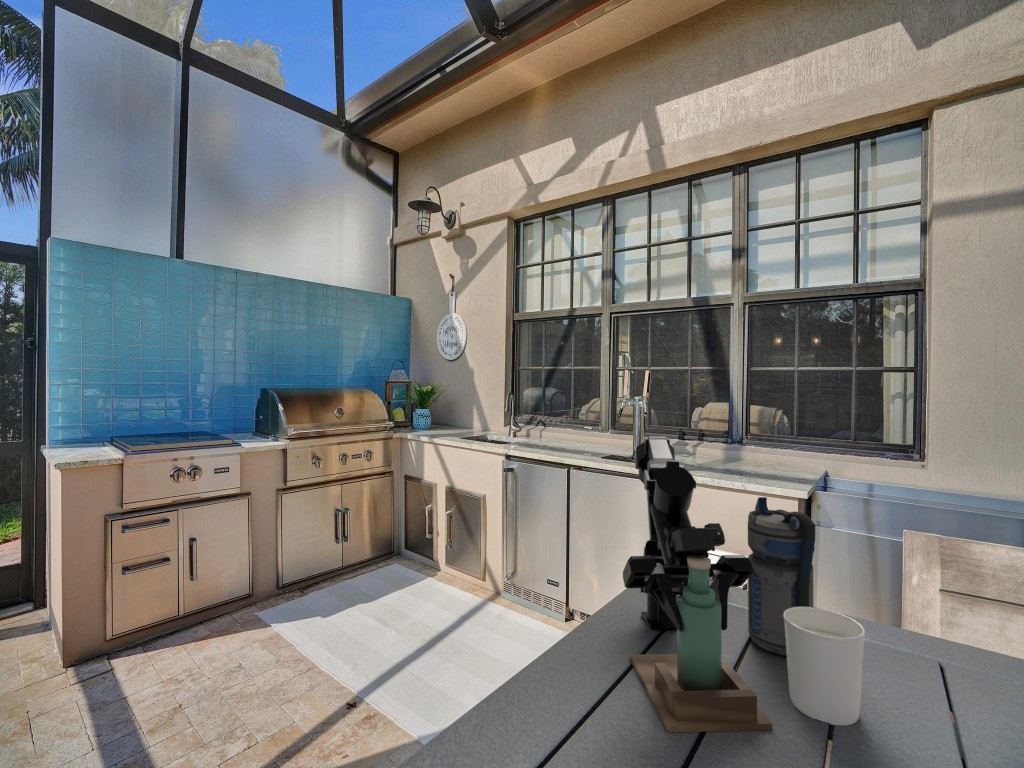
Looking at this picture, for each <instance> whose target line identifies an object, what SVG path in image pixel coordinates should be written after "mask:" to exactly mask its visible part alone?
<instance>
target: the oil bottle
mask: <svg viewBox="0 0 1024 768" xmlns="http://www.w3.org/2000/svg"><path fill="white" fill-rule="evenodd" d="M711 564H712V559H710V557H708V558H707V557H704V556H699V555H691V556H688V557H687V565H688V566H689V585H686V586H684V587H683V594H682V595H678V598H677V606H678V609H679V612H680V615H681V619H682V624H683V630H682V631H678V629H676V630H677V631H676V642H677V643H676V647H677V648H676V649H677V650H676V654H677V683H678V684H679V686H680V687H681V689H682V690H684V691H702V690H722V662H723V661H722V660H723V659H722V658H723V657H722V653H723V652H722V650H723V649H722V629H721V603H720V602H719V601H718V600H717V599H715V591H714V590H713V589H711V588H709V586H710V581H709V569H710V568H711Z"/></svg>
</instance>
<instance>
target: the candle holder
mask: <svg viewBox="0 0 1024 768" xmlns="http://www.w3.org/2000/svg"><path fill="white" fill-rule="evenodd" d="M783 618H784V626H785V641H786V655H787V656H786V665H787V666H786V667H787V681H788V691H789V699H790V702H791V703H792V705H793V706H794V707H795V708H796V709H797V710H798V711H799V712H801V713H803V715H806V716H807V717H809V718H811V719H813V720H815V719H819V720H821V721H826V722H828V723H830V724H829V725H831V726H839V727H840V726H851V725H854V724H855V723H857V722H858V720H859V718H860V712H861V711H860V710H861V701H862V700H861V697H862V682H863V665H864V646H865V637H866V636H865V635H866V630H865V628H864V626H862V624H861V623H859V622H858V621H857V620H855V619H853V618H851V617H850V616H846V615H844V614H842V613H839V612H836V611H833V610H829V609H825V608H820V607H792V608H789V609H787V610H785V611H784V613H783Z"/></svg>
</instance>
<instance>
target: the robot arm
mask: <svg viewBox="0 0 1024 768" xmlns="http://www.w3.org/2000/svg"><path fill="white" fill-rule="evenodd" d="M675 454H676V453H675V447H673V445H671V444H670V438H669V437H667V436H662V435H661V436H658V435H656V436H653V435H652V436H651V435H649V436H646V437H645V438H644V441H643V442H642V443H640V444H638V445H637V446H636V447H635V455H634V461H635V462H634V464H635V466H634V467H635V470H638V479H639V480H640V482H642V484H643V485H644V491H646V500H647V501H646V502H647V515H648V517H647V518H648V531H649V539H648V540H646V542H645V546H644V548H643V555H631V556H629V558H628V559H627V560H626V564H625V566H624V568H623V570H622V580H623V583H624V584H623V585H624V588H626V589H640V590H639V591H640V593H643V594H646V611H642V612H640V615H641V616H642V619H643V620H644V622H645V623H646V624H647V626H648V627H649V629H650V630H653V631H654V630H677V629H678V631H682V630H683V624H682V619H681V615H680V612H679V609H678V606H677V598H678V596H680V595H682V594H683V587H684V586H686V585H689V566H688V565H687V557H688V556H691V555H699V556H704V557H707V558H709V552H715V551H716V548H715V547H720V546H724V545H725V543H726V538H725V533H724V530H723V529H722V526H721V524H720V523H719V522H714V523H713V522H711V523H710V522H709V523H707V524H705V525H704V526H703V527H696V526H695V525H694V526H692V524H691V521H690V520H691V519H690V517H689V514H688V511H689V509H690V507H691V503H692V498H693V493H694V490H695V489H697V481H696V480H695V478H694V477H693V475H692V473H691V472H689V471H688V470H687V469H686V466H685V465H684V463H683V462H682V461H680V460H676V458H675V457H676V455H675ZM753 572H754V569H753V566H752V564H751V561H750V560H749V559H748V556H746V555H745V554H721V556H720V557H719V558H718V560H717V562H716V563H711V568H710V569H709V588H711V589H713V590H714V591H715V599H717V600H718V601H719V602H720V603H721V631H726V630H727V629H728V608H729V607H728V603H729V602H728V599H729V592H730V588H738V587H741V586H743V585H744V584H745V583H746V581H748V578H749V577H750V575H751V574H752V573H753Z"/></svg>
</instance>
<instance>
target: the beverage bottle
mask: <svg viewBox="0 0 1024 768" xmlns="http://www.w3.org/2000/svg"><path fill="white" fill-rule="evenodd" d="M767 501H768V498H767V497H766V496H765V497H764V496H763V497H759V496H758V498H757V501H756V504H755V508H754V510H752V511H750V512H749V513H748V517H747V545H748V547H749V549H750V550H751V551H752V553H751V554H749V555H748V556H747V558H748V559H749V560H750V561H751V564H752V566H753V569H754V572H753V573H752V574H751V575H750V577H749V578H748V579H747V615H748V617H747V624H748V625H747V629H748V630H747V632H748V635H749V637H750V638H751V640H752V642H753V643H754V644H756V645H757V646H758V647H760V648H762V649H763V650H764V651H768V652H769V653H772V654H776V655H780V656H784V657H785V656H786V657H787V655H786V641H785V626H784V618H783V613H784V611H785V610H787V609H789V608H792V607H814V565H813V560H814V559H813V558H814V552H815V543H816V524H815V523H814V521H813V520H812V519H811V518H810V516H809V515H807V513H806V514H805V513H803V512H800V511H787V510H784V509H776V510H775V509H769V507H768V504H767V503H768V502H767Z"/></svg>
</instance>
